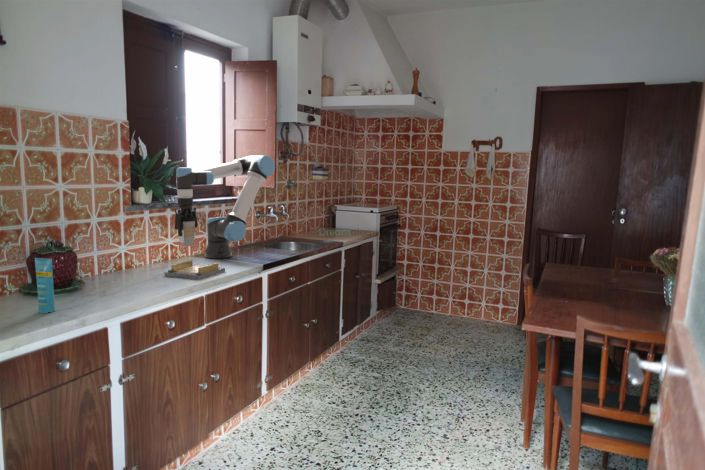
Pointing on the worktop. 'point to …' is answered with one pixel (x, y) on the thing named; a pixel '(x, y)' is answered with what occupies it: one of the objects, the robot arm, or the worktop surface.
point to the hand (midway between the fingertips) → (187, 240)
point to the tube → (45, 285)
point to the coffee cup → (188, 230)
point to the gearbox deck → (193, 270)
